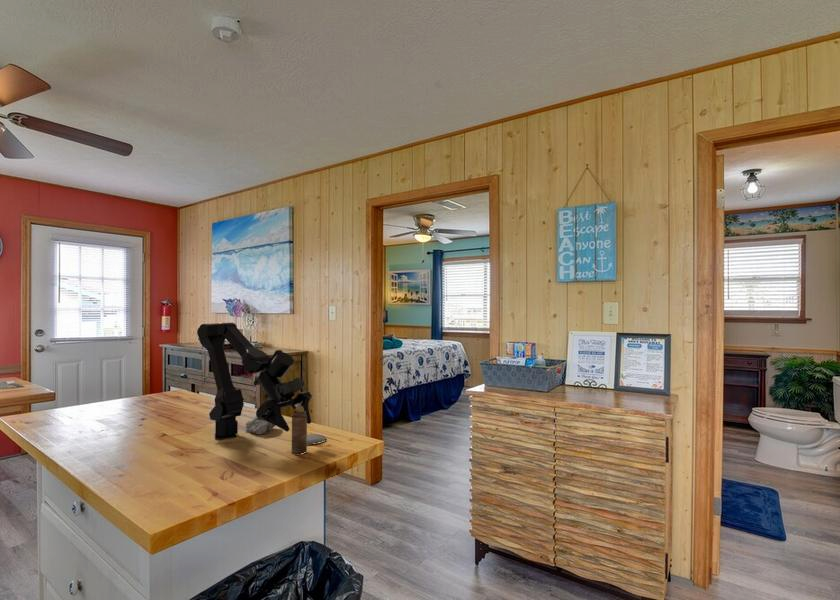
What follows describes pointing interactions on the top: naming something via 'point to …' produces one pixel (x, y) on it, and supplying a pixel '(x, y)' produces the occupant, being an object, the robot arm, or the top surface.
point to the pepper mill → (299, 431)
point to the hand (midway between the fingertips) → (299, 426)
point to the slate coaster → (315, 438)
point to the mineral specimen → (258, 426)
